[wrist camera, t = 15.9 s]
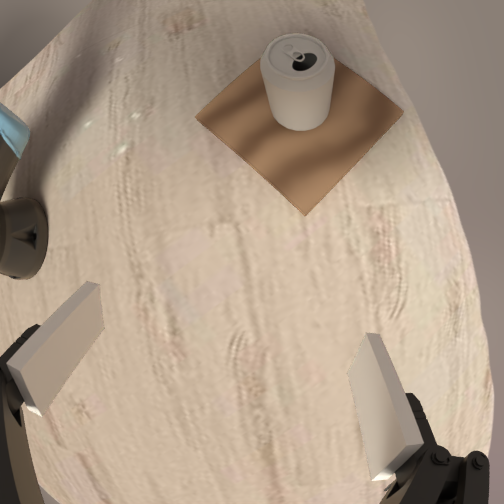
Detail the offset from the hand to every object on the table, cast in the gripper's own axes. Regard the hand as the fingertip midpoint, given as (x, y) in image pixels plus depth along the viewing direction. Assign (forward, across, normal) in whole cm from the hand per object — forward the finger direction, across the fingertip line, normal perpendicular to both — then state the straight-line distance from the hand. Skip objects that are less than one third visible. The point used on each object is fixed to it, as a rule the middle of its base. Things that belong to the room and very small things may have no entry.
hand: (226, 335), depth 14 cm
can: (+29, +4, +13) cm, 32 cm away
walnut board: (+30, +4, +13) cm, 33 cm away
